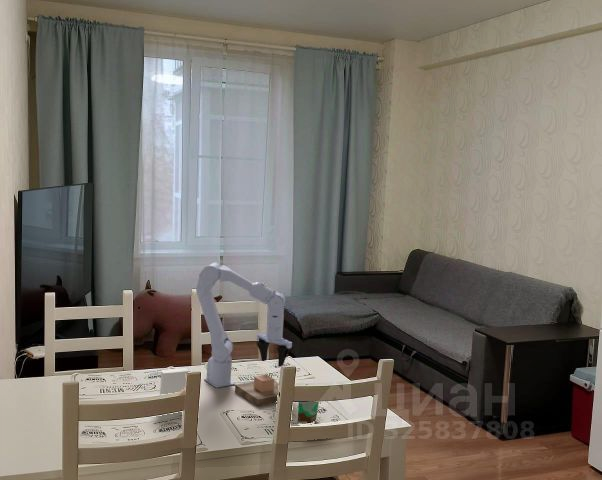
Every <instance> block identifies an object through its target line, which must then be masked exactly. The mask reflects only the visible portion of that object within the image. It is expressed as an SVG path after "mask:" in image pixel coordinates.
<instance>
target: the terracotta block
mask: <svg viewBox="0 0 602 480" xmlns="http://www.w3.org/2000/svg"><path fill="white" fill-rule="evenodd" d="M274 381H275V378H274V377H271V376H270V375H268V374H261V375H256V376H254V378H253V382H254V388H255V389H257V390H258V391H260V392H265V391H271V390H273V388H274Z"/></svg>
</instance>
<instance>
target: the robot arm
mask: <svg viewBox="0 0 602 480" xmlns="http://www.w3.org/2000/svg"><path fill="white" fill-rule="evenodd" d="M217 281H219V283H222V282H223V283H224V282H229V283H232V284H234V285H236V286H237V287H240V288H242V289H244V290H246V291H248V293H249V296H250V297H252V298H253V299H256V300H257V301H259V302H260V303H263V304H264V305H267V307H268V313H267V323H266V334H265V333H258V334H256V337H255V339H256V340H257V342H256V346H257V348H258V350H259V354H260V358H261V361H262V362H265V361H267V359H268V350H269V346H270V343H271V344H273V345H277V346H278V347H277V348H276V349H277V352H278V361H277V363H278V367H282V366H284V364H285V361H286V358H287V357H288V354H289V353H290V351H291V349H292V347H293V342H292V341H289V340H288V339H285V338H284V337H283V334H284V333H283V332H284V320H285V319H284V317H285V313H284V312H285V304H286V296H285V295H284V294H283V293H282V292H281V291H277V289H272V288H270V287H268V286H266V285H265V283H264V282H262V281H261V282H259V281H255V282H252V281H251V280H249V279H247V278H246V277H244V276H243V275H241V274H239V273H238V272H237V271H234V270H233V269H231V267H228V266H226V265H224V264H221V263H219V262H217V261H215V262H211V263H209V264H208V265H206V266H205V267H204V268H203V269H202V270H201V271H200V273H199V275H198V280H197V284H196V285H197V286H196V287H195V288H196V289H195V291H196V295H197V298H198V301H199V303H200V307H201V310H202V312H203V313H202V314H203V316H204V319H205V323H206V325H207V326H206V327H207V329H208V331H209V335H210V345H211V356H210V358H209V359H207V363H206V377H204V379H203V380H204V381H206V382H207V383H209V384H210V385H212V386H213V387H215V388H216V389H217V388H223V387H229V386H235V385H236V383H235V382H234V381H233V380H232V379H231V378H232V365H233V357H232V356H231V353H232V352H233V350H234V344H233V341H232V340H231V339H229V337H228V334H227V333H226V332H225V329H224V326H223V324H222V320H221V317H220V314H219V311H218V308H217V305H216V301H215V299H214V294H213V292H212V290H213V288H214V286H215V285H216V283H217Z"/></svg>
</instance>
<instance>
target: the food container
mask: <svg viewBox="0 0 602 480" xmlns="http://www.w3.org/2000/svg"><path fill="white" fill-rule="evenodd" d="M306 385H308V384H305V386H306ZM297 404H298V407H297V422H296V423H311V422H313V421H315V420H316V421H317V414H318V410H319V404H320V401H319V402H297Z"/></svg>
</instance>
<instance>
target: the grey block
mask: <svg viewBox="0 0 602 480" xmlns="http://www.w3.org/2000/svg"><path fill="white" fill-rule="evenodd" d="M190 371H191V370H190V369H189V368H187V367H184V368H182V367H181V368H172V369H171V368H170V369H162V370H161V371H160V388H159V389H160V391H159V392H160V393H159V396H160V395H161V394H168V393H175V392H179V391H181V390H182V389H184V387H185V374H186V373H188V372H190ZM190 373H191V372H190Z"/></svg>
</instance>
